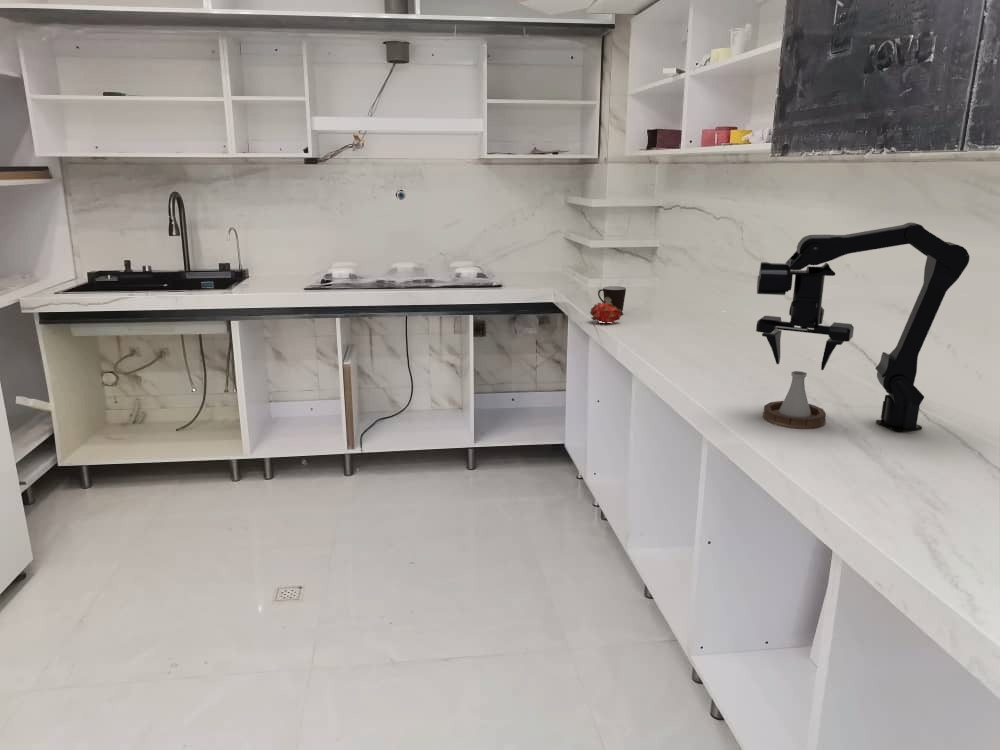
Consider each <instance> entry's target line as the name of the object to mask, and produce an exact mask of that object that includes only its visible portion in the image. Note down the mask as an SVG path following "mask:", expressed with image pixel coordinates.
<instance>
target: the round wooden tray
mask: <svg viewBox="0 0 1000 750" xmlns="http://www.w3.org/2000/svg"><path fill="white" fill-rule="evenodd" d="M783 401H784V400H778V401H771V402H768V403H767V404H765V405H764V406H763V412H762V418H763V419H764V420H765V421H766V420H767V421H766V422H768V423H770V422H771V423H770V424H772V423H773V425H775V424H776V425H775V426H779V427H783V428H787V429H797V430H810V429H813V430H814V429H817V428H818V429H819V428H821V427H824V426H825V425H826V422H827V421H826V418H827V412H825V410H824V409H823V408H821V407H819V406H816V405H815V404H810V403H808V404H809V408H810V411H811V417H805V418H803V417H790V416H786V415H781V414H778V411H779V409H780V407H781V405H782V403H783Z"/></svg>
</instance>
